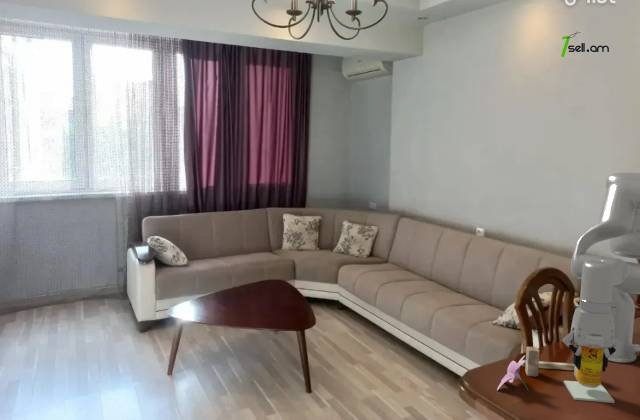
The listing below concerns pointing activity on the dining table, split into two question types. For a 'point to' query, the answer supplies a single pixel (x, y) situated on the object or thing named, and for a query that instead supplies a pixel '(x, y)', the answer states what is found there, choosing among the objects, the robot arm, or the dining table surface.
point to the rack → (542, 363)
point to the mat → (588, 392)
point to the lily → (513, 372)
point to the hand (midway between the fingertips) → (589, 367)
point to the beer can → (591, 362)
